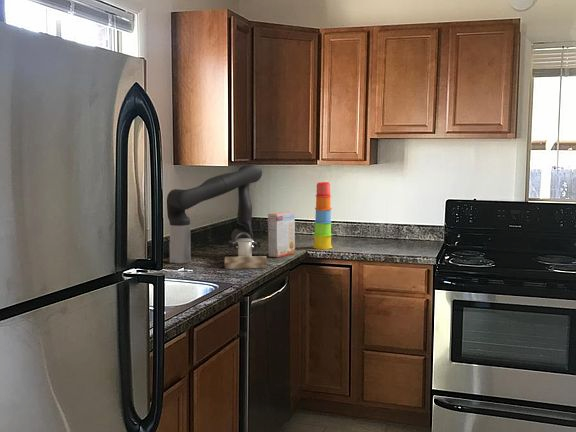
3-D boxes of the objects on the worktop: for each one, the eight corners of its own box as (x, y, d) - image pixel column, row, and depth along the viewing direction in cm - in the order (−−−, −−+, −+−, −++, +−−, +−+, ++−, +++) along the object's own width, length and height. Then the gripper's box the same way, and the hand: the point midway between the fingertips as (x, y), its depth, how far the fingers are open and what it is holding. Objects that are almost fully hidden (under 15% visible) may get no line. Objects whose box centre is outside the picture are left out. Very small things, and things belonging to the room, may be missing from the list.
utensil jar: (237, 267, 270) (237, 240, 269) (237, 264, 277) (237, 238, 275) (252, 267, 271) (252, 240, 270) (251, 264, 277) (251, 238, 276)
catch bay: (224, 268, 267) (224, 257, 267) (224, 264, 278) (224, 253, 278) (266, 267, 269) (266, 256, 269) (264, 263, 280) (264, 252, 280)
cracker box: (286, 253, 310) (286, 211, 308) (295, 254, 306) (295, 212, 304) (267, 256, 299) (267, 213, 297) (277, 257, 296) (277, 214, 294)
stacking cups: (335, 247, 329) (336, 182, 325) (326, 249, 320) (326, 182, 317) (319, 245, 334) (319, 181, 331) (309, 248, 326) (309, 182, 323)
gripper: (228, 233, 286) (228, 238, 270) (259, 233, 287) (261, 237, 271) (228, 249, 287) (229, 255, 271) (259, 249, 288) (261, 254, 272)
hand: (245, 246), depth 271 cm, fingers open, 8 cm apart
